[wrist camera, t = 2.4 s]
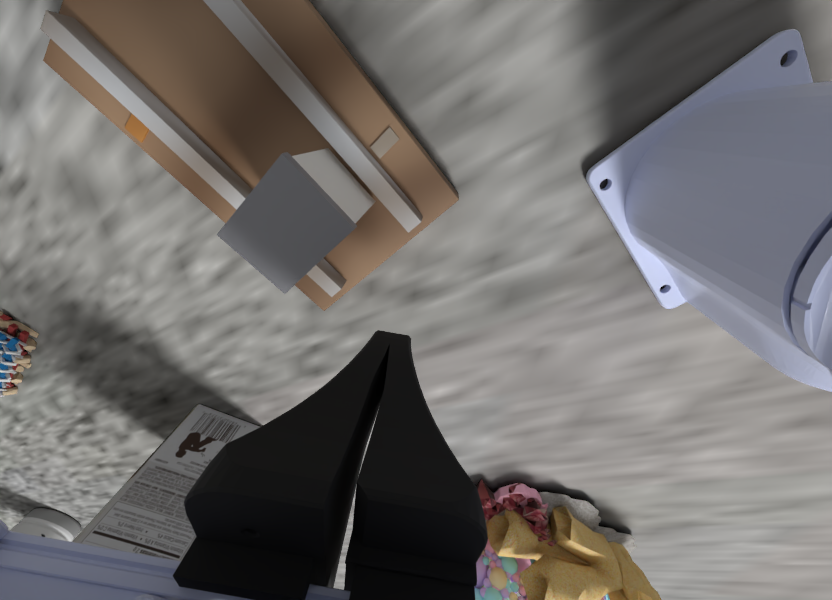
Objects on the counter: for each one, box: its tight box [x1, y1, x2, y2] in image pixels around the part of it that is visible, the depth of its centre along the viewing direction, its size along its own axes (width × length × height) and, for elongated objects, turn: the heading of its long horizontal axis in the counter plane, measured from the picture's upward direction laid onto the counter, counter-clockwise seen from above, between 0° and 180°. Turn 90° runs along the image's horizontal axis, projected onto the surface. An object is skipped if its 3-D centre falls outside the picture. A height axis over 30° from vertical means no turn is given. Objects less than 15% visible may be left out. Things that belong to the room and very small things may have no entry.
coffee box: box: [73, 404, 260, 561], centre depth 22 cm, size 9×6×16 cm
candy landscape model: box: [474, 479, 661, 600], centre depth 30 cm, size 25×24×9 cm
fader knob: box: [217, 148, 376, 294], centre depth 13 cm, size 3×4×4 cm
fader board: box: [40, 0, 459, 311], centre depth 14 cm, size 16×10×2 cm, turn 41°
